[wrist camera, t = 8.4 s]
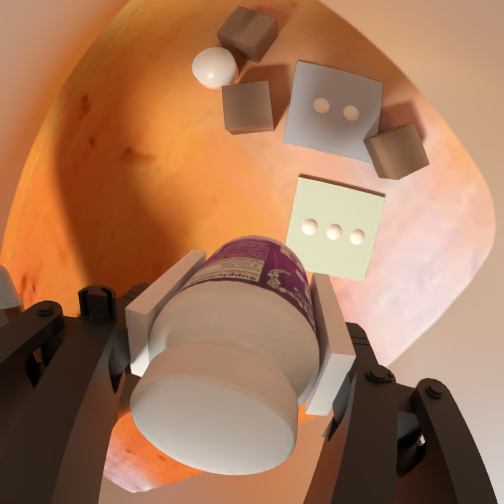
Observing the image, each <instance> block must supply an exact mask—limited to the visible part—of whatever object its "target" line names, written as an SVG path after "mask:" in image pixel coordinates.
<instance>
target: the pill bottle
mask: <svg viewBox="0 0 504 504" xmlns="http://www.w3.org/2000/svg"><path fill="white" fill-rule="evenodd" d="M149 356H150V363H149V365H148V367H147V369H146V371H145V372H144V374H143V376H142V377H141V379H140V380H139V382H138V384H137V385H136V387H135V389H134V390H133V392H132V395H131V398H130V411H131V415H132V418H133V420H134V422H135V424H136V426H137V427H138V429H139V431H140V432H141V433H142V434H143V435H144V437H145V438H146V439H147V440H148V441H149V442H151V443H152V444H153V445H154V446H155V447H156V448H158V449H159V450H160V451H162V452H163V453H165V454H166V455H168V456H170V457H171V458H173V459H175V460H177V461H179V462H181V463H183V464H185V465H188V466H190V467H193V468H197V469H200V470H203V471H207V472H212V473H218V474H225V475H247V474H254V473H260V472H263V471H267V470H269V469H272V468H274V467H276V466H278V465H279V464H281V463H283V462H284V461H285V460H286V459H287V458H288V457H289V456H290V455H291V454H292V452H293V450H294V448H295V445H296V439H297V426H298V408H299V407H300V406H301V405H302V404H303V403H304V402H305V400H306V399H307V398H308V396H309V395H310V393H311V392H312V390H313V388H314V386H315V383H316V380H317V377H318V373H319V345H318V338H317V333H316V327H315V321H314V314H313V307H312V301H311V295H310V290H309V285H308V280H307V276H306V272H305V269H304V267H303V265H302V263H301V261H300V260H299V258H298V257H297V256H296V254H295V253H294V252H293V251H292V250H291V249H290V248H288V247H287V246H285V245H284V244H283V243H281V242H279V241H277V240H275V239H272V238H269V237H264V236H256V235H250V236H243V237H239V238H236V239H233V240H231V241H229V242H227V243H225V244H224V245H223V246H221V247H220V248H219V249H218V250H216V252H215V253H214V254H213V255H212V256H211V257H210V258H209V259H208V260H207V261H206V262H205V263H204V264H203V265H202V266H201V268H200V269H199V270H198V271H197V272H196V273H195V274H194V275H193V276H192V277H191V278H190V279H189V280H188V281H187V282H186V284H185V285H184V286H183V287H182V288H181V289H180V290H179V291H178V292H177V293H176V294H175V296H174V297H172V298H171V299H170V300H169V301H168V302H167V304H166V305H165V306H164V308H163V309H162V311H161V312H160V313H159V315H158V316H157V318H156V320H155V322H154V325H153V327H152V330H151V333H150V339H149Z"/></svg>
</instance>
